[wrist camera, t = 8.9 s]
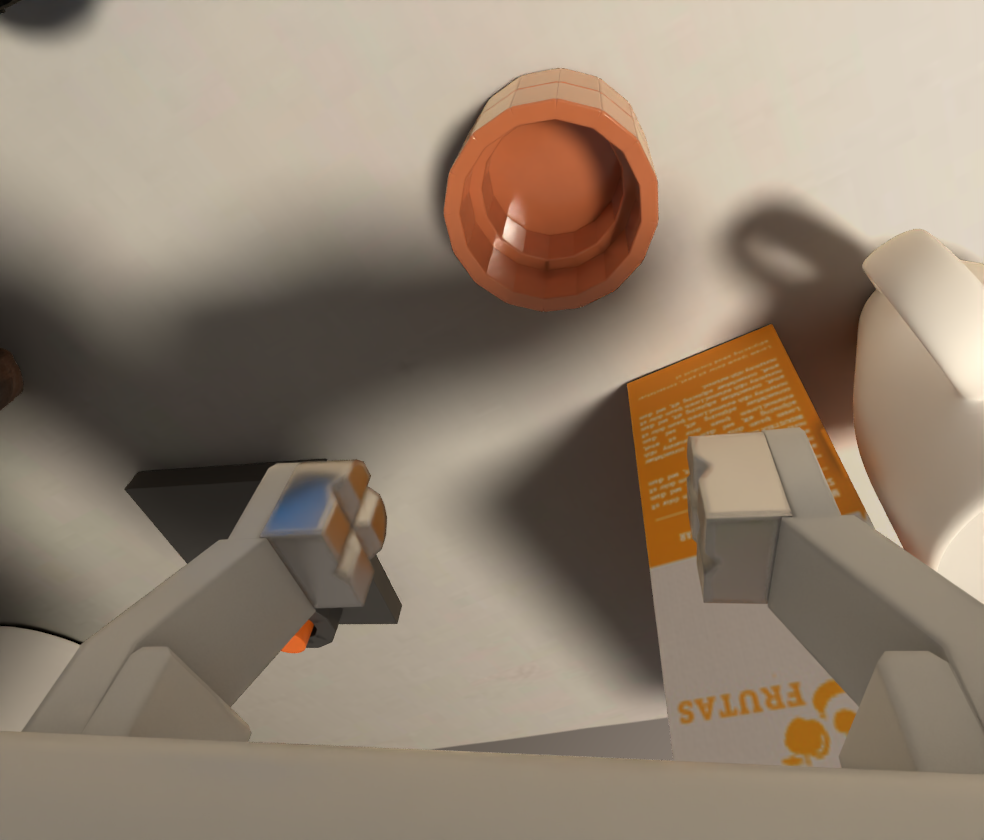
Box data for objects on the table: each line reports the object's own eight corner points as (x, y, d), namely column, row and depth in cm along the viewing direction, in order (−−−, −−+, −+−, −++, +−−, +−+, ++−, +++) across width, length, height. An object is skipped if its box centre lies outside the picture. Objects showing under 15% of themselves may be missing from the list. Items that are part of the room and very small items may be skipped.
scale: (403, 607, 41) (392, 648, 38) (248, 609, 43) (229, 647, 41) (326, 458, 32) (307, 500, 30) (137, 471, 34) (106, 510, 32)
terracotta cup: (648, 238, 22) (660, 299, 19) (486, 260, 23) (470, 321, 20) (641, 47, 18) (655, 78, 15) (448, 87, 20) (419, 124, 16)
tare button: (320, 631, 39) (312, 653, 38) (284, 631, 39) (275, 653, 38) (304, 609, 37) (295, 631, 36) (267, 609, 38) (257, 631, 37)
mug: (1090, 314, 22) (1417, 572, 13) (864, 426, 27) (1000, 674, 18) (948, 55, 18) (1302, 192, 9) (704, 242, 22) (783, 455, 13)
